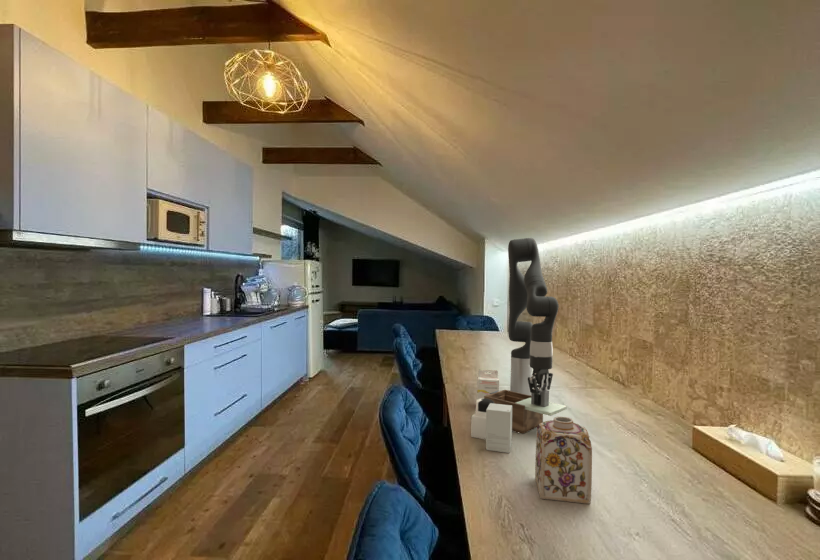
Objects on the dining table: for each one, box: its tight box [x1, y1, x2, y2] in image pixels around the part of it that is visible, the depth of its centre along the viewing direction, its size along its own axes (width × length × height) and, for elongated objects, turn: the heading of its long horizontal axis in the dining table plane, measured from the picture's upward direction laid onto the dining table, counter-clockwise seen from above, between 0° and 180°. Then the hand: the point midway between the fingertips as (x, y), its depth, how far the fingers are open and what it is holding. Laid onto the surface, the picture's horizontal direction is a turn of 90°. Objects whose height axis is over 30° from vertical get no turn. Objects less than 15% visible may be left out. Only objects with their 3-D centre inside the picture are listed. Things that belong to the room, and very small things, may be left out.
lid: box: [516, 389, 568, 417], centre depth 150 cm, size 11×14×6 cm
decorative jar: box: [534, 416, 593, 505], centre depth 109 cm, size 12×12×18 cm
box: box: [484, 389, 544, 435], centre depth 158 cm, size 14×16×10 cm
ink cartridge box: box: [476, 369, 500, 400], centre depth 178 cm, size 9×5×15 cm, turn 84°
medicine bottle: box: [470, 398, 494, 440], centre depth 145 cm, size 7×7×12 cm
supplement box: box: [485, 403, 513, 454], centre depth 135 cm, size 7×7×13 cm
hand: (539, 403), depth 150 cm, fingers closed on lid, 3 cm apart
